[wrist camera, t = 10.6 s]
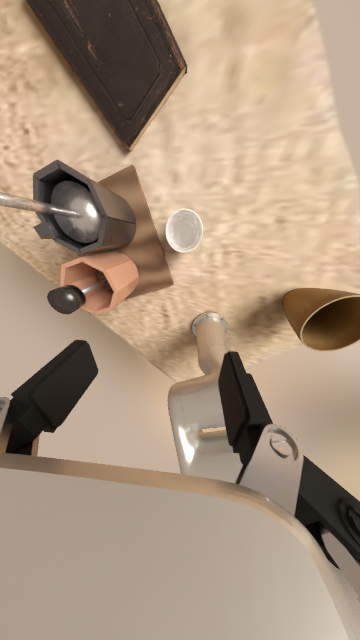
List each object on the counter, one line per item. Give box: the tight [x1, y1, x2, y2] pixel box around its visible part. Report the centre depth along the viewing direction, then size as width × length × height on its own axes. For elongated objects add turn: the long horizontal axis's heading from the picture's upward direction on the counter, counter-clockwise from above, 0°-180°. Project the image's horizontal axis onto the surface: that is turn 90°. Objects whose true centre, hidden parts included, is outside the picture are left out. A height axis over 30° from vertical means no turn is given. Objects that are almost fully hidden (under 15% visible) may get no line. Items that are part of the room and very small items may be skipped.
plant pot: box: [283, 288, 360, 352], centre depth 39 cm, size 15×15×16 cm
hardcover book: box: [26, 0, 187, 151], centre depth 24 cm, size 16×23×2 cm
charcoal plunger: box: [0, 181, 102, 243], centre depth 18 cm, size 9×9×19 cm
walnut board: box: [78, 165, 174, 299], centre depth 41 cm, size 28×24×2 cm
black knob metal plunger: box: [47, 269, 114, 314], centre depth 32 cm, size 9×9×19 cm
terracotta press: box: [60, 251, 139, 315], centre depth 37 cm, size 12×15×16 cm
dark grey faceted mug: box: [33, 160, 136, 254], centre depth 31 cm, size 12×15×16 cm
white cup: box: [165, 209, 203, 253], centre depth 34 cm, size 8×8×10 cm
